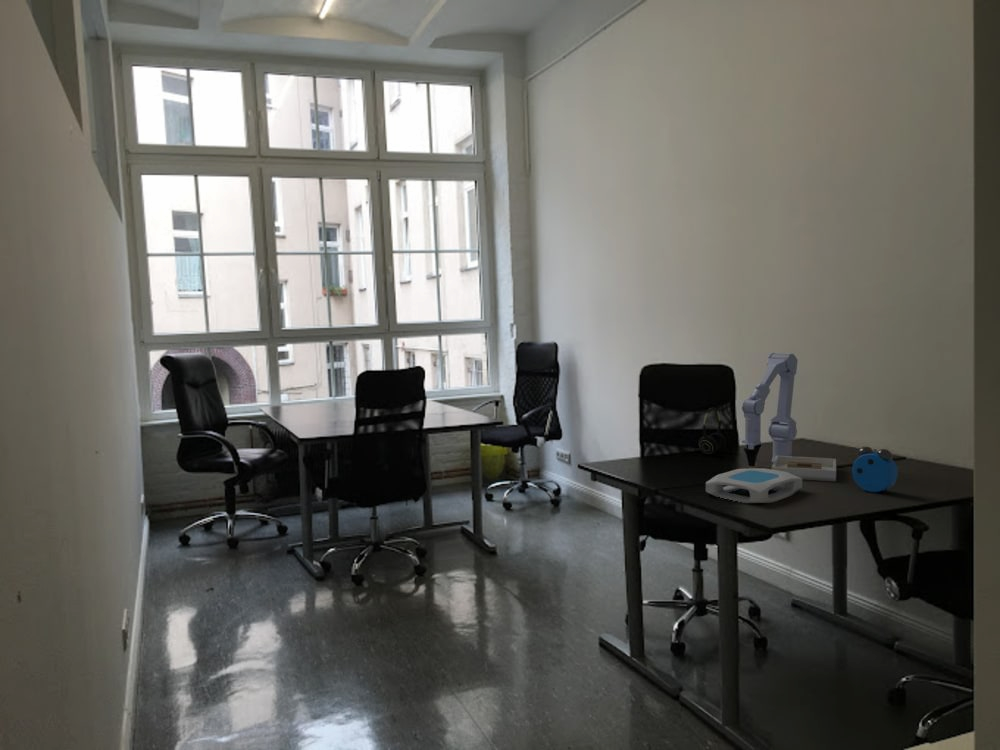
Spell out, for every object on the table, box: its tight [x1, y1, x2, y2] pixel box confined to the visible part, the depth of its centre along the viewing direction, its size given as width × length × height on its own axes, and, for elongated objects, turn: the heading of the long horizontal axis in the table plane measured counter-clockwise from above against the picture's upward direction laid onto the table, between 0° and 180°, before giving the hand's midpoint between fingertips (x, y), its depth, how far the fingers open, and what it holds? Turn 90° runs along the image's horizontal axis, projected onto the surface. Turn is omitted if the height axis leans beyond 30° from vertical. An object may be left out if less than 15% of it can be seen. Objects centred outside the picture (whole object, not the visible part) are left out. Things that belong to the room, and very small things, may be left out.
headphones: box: [698, 407, 727, 455], centre depth 338 cm, size 9×15×20 cm, turn 138°
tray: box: [771, 456, 837, 482], centre depth 298 cm, size 22×22×4 cm
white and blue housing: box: [705, 467, 803, 504], centre depth 270 cm, size 21×28×6 cm
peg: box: [747, 452, 759, 469], centre depth 308 cm, size 4×4×7 cm
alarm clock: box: [851, 446, 899, 493], centre depth 268 cm, size 13×6×15 cm, turn 38°
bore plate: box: [787, 461, 822, 469], centre depth 298 cm, size 12×12×2 cm
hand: (752, 464), depth 308 cm, fingers open, 7 cm apart
